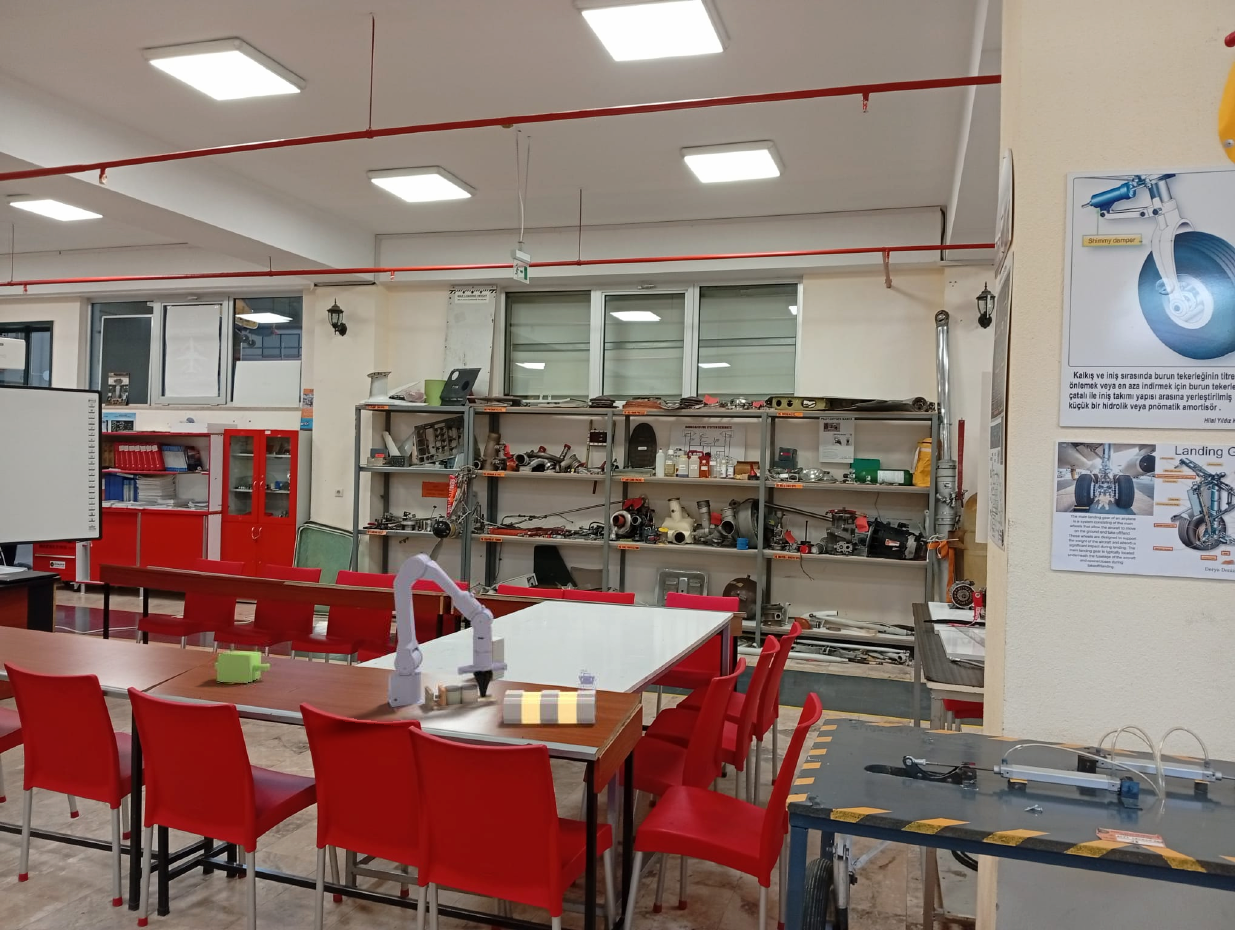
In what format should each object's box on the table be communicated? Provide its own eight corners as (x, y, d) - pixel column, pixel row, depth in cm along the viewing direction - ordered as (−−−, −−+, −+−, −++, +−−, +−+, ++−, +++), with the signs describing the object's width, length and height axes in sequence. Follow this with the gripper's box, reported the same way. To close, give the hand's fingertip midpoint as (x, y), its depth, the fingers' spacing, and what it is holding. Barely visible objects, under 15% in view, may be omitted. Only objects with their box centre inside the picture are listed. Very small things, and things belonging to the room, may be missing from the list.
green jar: (446, 707, 254) (446, 690, 254) (441, 703, 258) (441, 686, 258) (463, 705, 256) (462, 688, 256) (458, 701, 261) (458, 684, 261)
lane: (430, 713, 250) (430, 693, 250) (424, 704, 259) (424, 685, 259) (499, 705, 257) (499, 686, 257) (490, 697, 267) (490, 679, 267)
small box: (473, 677, 292) (473, 638, 292) (485, 673, 298) (485, 635, 298) (493, 680, 288) (493, 640, 288) (504, 676, 294) (504, 637, 294)
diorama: (596, 714, 249) (596, 668, 249) (595, 725, 238) (594, 677, 238) (508, 715, 249) (508, 668, 249) (503, 725, 239) (503, 677, 239)
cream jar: (463, 705, 256) (463, 688, 256) (458, 701, 260) (458, 684, 260) (479, 703, 258) (479, 686, 258) (474, 699, 262) (474, 682, 262)
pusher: (437, 708, 252) (437, 691, 252) (433, 702, 258) (433, 685, 258) (446, 707, 253) (445, 690, 253) (441, 701, 259) (441, 684, 259)
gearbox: (276, 679, 294) (277, 650, 294) (260, 685, 284) (261, 655, 284) (225, 676, 296) (226, 648, 296) (208, 682, 286) (209, 653, 286)
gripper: (461, 655, 254) (461, 702, 254) (509, 651, 260) (510, 696, 260) (456, 650, 261) (456, 696, 261) (503, 646, 266) (503, 691, 266)
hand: (482, 696), depth 261 cm, fingers closed
